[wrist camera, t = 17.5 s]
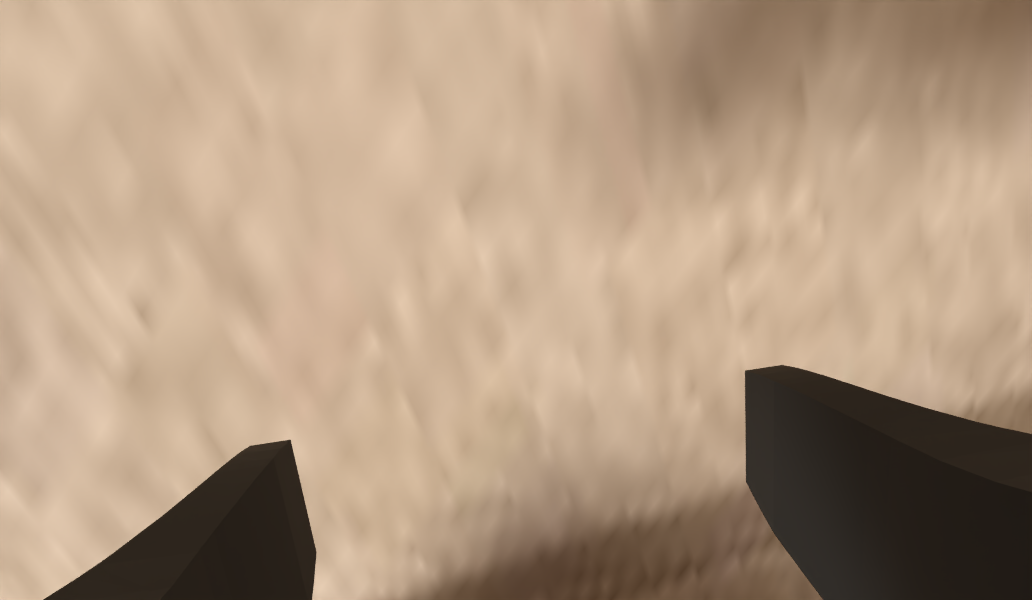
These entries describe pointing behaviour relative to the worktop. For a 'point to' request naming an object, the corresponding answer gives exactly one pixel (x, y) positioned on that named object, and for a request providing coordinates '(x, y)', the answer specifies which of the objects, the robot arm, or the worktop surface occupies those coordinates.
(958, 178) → the worktop surface
